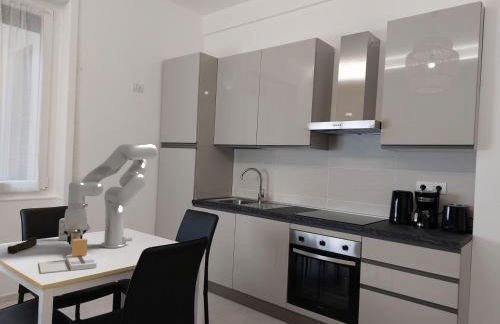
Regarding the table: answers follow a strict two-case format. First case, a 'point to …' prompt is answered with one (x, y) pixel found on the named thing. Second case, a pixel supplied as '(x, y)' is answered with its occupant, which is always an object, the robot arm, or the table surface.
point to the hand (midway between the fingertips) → (74, 243)
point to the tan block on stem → (74, 236)
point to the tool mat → (53, 266)
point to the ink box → (61, 234)
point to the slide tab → (79, 247)
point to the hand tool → (22, 245)
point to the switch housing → (81, 262)
